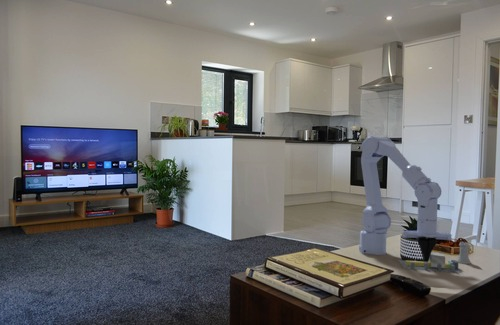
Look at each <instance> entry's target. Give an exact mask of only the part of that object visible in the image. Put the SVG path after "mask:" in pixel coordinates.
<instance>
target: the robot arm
mask: <svg viewBox="0 0 500 325" xmlns="http://www.w3.org/2000/svg"><path fill="white" fill-rule="evenodd" d="M361 151H362V153H361V158H360V164H361V171H362V180H363V185H364V186H363V187H364V192H365V201H366V207H365V208H364V209H363V210H362V220H361V223H362V227H363V229H364V230H360V232H359V246H358V249H359V251H360V254H364V255H365V254H367V255H368V254H369V255H378V256H382V255H383V256H384V255H386V254H387V233H388V229H389V228H390V227H391V225H392V219H391V216H390V214H389V213H388V212H389V211H388V209H387V208H386V206H385V205H383V199H382V193H381V192H382V191H381V186H380V180H379V179H380V178H379V172H378V171H379V170H378V162H379V161H380V160H381V159H382V158H384V156H385V157H388V159H389V160H391V162H393V163H394V164H395V166H397V167H398V168H399V169H400V170H401V171H402V175H401V176H402V178H403V179H404V180H405V181H406V182H407V183H408V184H409V186H410V187H411V188H412V189H413V190H414V192H413V193H414V196H415V198H416V200H417V224H416V226H417V227H416V228H417V229H416V230H402V236H401V237H402V238H404V239H406V238H407V239H408V238H409V239H411V238H414V239H416V241H417V244H418V246H419V248H420V251H421V256H422V261H423V262H428V261H429V258H430V255H431V253H433V250H434V248H435V246H437V243H438V241H437V240H446V241H452V234H451V233H450V232H440V231H439V232H438V231H437V226H438V225H437V221H438V199H439V198H440V197H441V195H442V188H441V186H440V185H439V183H438V182H435V181H432V179H431V177H428V176H427V175H426V174H425V173H424V172H423V171H422V167H421V166H417V165H415V164H414V165H411V164H410V162H409V161H408V160H407V158H405V156H404V155H403V153H401V151H400V150H399V148H398V147H397V146H396V143H395V142H394V141H392V139H391V138H390V137H386V136H383V137H382V136H373V135H370V136H369V135H368V136H366V137H365V139H364V140H363V142H362V143H361Z"/></svg>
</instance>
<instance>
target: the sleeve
mask: <svg viewBox="0 0 500 325" xmlns="http://www.w3.org/2000/svg"><path fill="white" fill-rule="evenodd" d="M427 262H431V267H437V265H438V264H441V268H445V263H446V255H444V254H442V252H441V253H438V252H431V255H430V258H429V261H427Z"/></svg>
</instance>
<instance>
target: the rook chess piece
mask: <svg viewBox="0 0 500 325" xmlns="http://www.w3.org/2000/svg"><path fill="white" fill-rule="evenodd" d="M458 246H459V256H458V257H457V258H456V261H457V262H458V264H464V265H470V264H471V263H472V262H471V260H470V258H469V248H470V244H469V242H467V241H465V242H464V241H460V242H459V244H458Z"/></svg>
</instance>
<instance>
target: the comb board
mask: <svg viewBox="0 0 500 325" xmlns="http://www.w3.org/2000/svg"><path fill="white" fill-rule="evenodd" d="M397 261H398V262H399V264H400V265H401V266H402V267H403V269H404V270H415V271H428V272H429V271H430V272H440V273H441V272H443V273H445V272H446V273H457V274H463V272H462V271H461V270H460V269H459V263H458V262H457V259H456V260H455V259H451V260H448V261H447V262H445V268H441V264H438V265H437V267H431V262H428V261H420V260H419V261H418V260H407V259H404V260H402V259H398V260H397Z"/></svg>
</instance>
